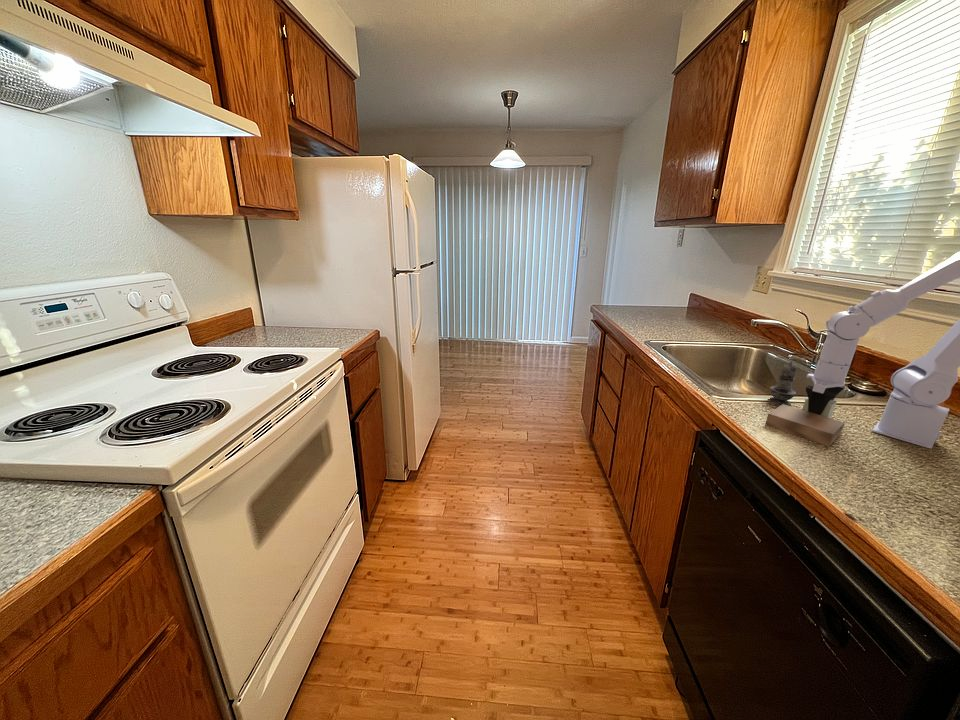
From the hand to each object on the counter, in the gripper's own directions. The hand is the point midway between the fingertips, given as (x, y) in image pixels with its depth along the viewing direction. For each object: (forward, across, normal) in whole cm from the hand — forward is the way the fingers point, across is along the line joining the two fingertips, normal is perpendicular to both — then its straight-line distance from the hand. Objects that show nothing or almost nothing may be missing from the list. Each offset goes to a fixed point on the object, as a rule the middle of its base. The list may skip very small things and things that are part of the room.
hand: (816, 412), depth 96 cm
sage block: (+1, 0, 0) cm, 1 cm away
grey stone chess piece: (+2, -5, -9) cm, 10 cm away
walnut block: (+2, +10, 0) cm, 10 cm away
